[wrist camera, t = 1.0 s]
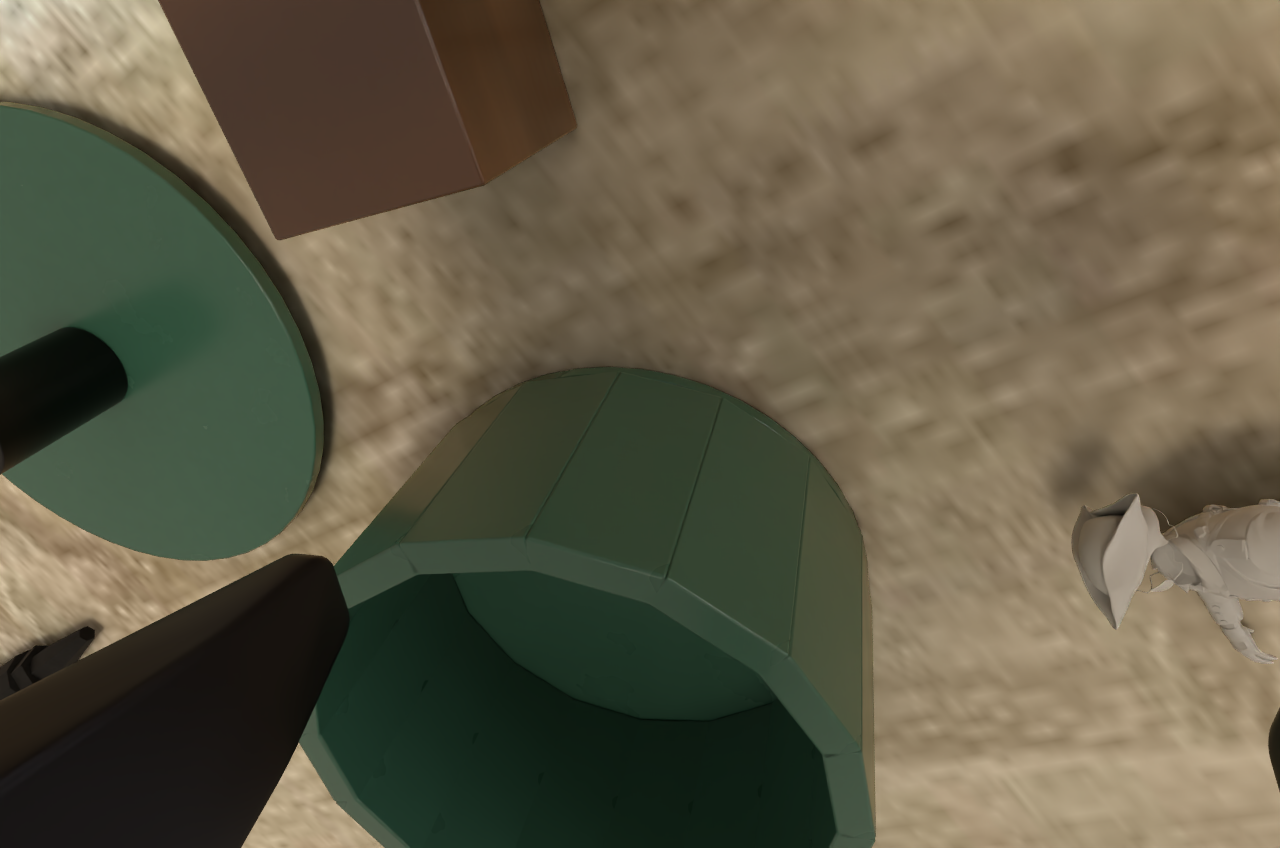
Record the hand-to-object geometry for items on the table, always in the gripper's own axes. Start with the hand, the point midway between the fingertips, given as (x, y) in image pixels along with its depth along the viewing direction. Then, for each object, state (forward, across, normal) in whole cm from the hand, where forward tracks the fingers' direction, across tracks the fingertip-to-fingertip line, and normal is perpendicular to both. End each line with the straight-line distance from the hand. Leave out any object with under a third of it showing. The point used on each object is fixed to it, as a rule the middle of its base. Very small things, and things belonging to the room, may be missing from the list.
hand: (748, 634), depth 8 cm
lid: (+12, +21, +4) cm, 24 cm away
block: (+13, +8, -4) cm, 16 cm away
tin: (+12, +5, +10) cm, 17 cm away
